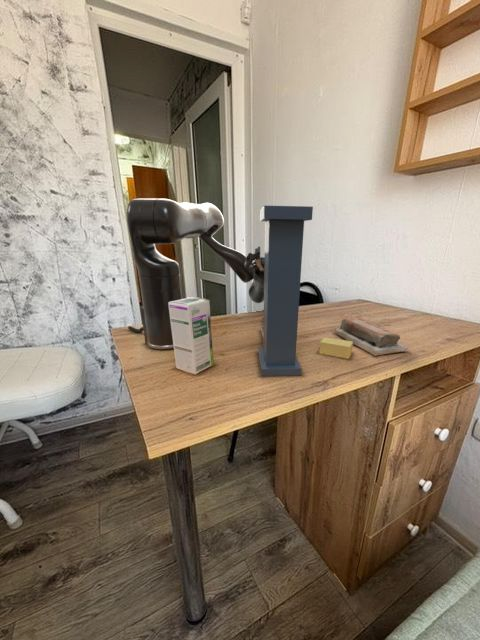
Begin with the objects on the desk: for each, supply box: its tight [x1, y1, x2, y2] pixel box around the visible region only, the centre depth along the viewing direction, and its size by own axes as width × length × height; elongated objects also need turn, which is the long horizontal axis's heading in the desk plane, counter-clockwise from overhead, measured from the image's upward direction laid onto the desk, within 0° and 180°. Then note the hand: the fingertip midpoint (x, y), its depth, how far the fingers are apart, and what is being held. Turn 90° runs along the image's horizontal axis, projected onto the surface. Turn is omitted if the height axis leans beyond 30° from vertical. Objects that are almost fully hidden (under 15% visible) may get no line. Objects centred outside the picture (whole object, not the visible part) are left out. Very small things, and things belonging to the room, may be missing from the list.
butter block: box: [318, 336, 354, 360], centre depth 70 cm, size 7×4×3 cm, turn 64°
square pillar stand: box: [257, 205, 314, 377], centre depth 59 cm, size 8×12×31 cm, turn 4°
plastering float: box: [334, 316, 409, 357], centre depth 78 cm, size 18×5×10 cm
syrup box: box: [168, 296, 215, 376], centre depth 60 cm, size 6×6×14 cm
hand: (269, 249), depth 82 cm, fingers open, 5 cm apart
